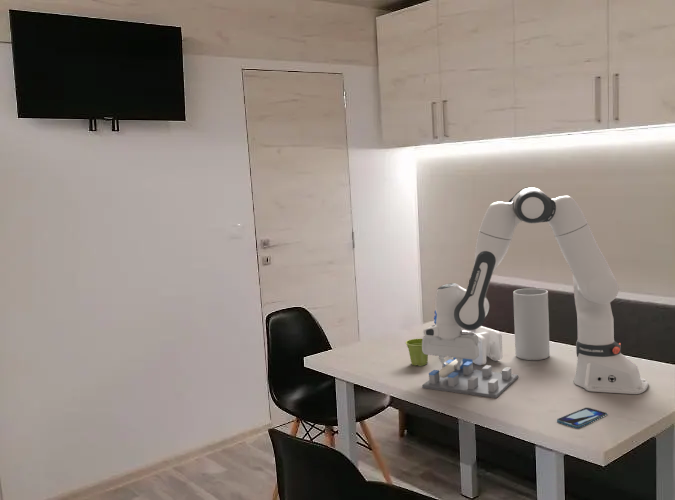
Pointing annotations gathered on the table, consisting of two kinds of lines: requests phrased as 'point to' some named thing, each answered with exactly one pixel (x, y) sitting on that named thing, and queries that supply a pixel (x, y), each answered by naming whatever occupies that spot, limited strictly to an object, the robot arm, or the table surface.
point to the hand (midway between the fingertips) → (451, 368)
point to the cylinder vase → (531, 324)
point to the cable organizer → (488, 345)
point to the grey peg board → (472, 380)
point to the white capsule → (448, 369)
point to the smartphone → (581, 417)
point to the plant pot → (416, 352)
